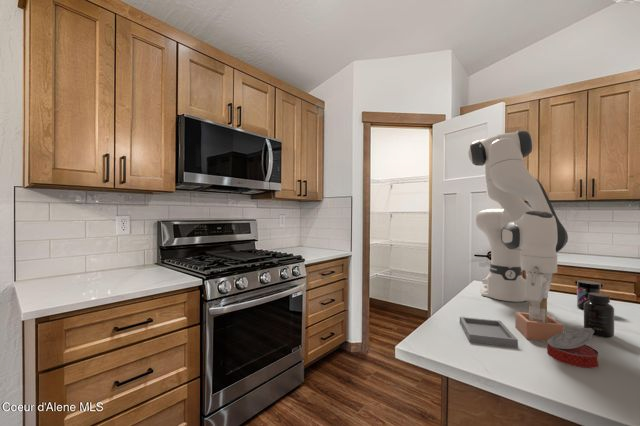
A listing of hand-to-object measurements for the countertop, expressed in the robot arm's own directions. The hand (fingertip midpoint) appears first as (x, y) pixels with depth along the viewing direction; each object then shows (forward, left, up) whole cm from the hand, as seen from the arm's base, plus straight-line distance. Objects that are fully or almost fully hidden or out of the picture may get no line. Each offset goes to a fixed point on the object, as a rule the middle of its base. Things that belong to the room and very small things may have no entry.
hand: (538, 311), depth 89 cm
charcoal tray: (+4, -15, -7) cm, 17 cm away
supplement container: (-35, +30, -7) cm, 47 cm away
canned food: (+14, +2, -8) cm, 16 cm away
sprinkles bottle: (0, 0, -7) cm, 7 cm away
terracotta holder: (0, 0, -7) cm, 7 cm away
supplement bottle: (-7, +19, -7) cm, 21 cm away
